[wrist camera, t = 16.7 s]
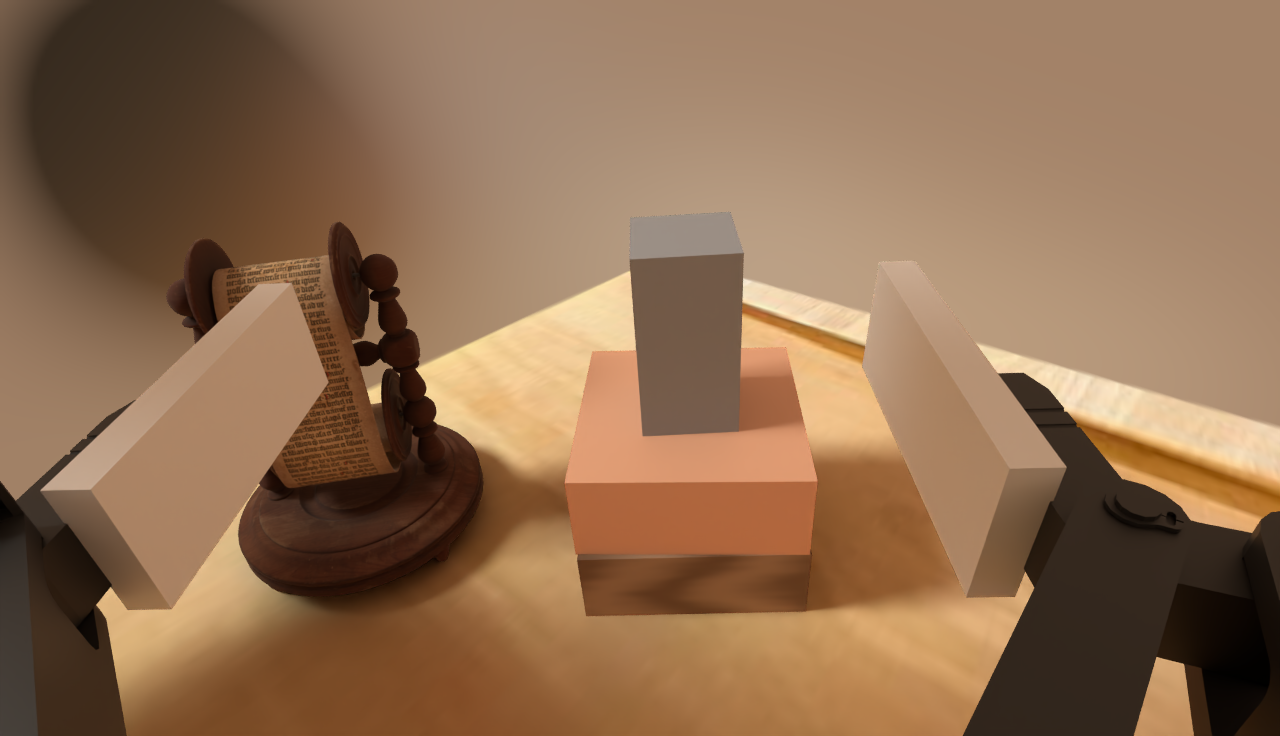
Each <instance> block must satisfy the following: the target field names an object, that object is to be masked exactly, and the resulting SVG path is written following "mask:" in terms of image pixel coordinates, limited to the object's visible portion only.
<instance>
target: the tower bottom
mask: <svg viewBox="0 0 1280 736" xmlns="http://www.w3.org/2000/svg"><path fill="white" fill-rule="evenodd" d="M811 557H812V553H811V549H810V555H600V554H578V558H577V562H578V568H579V574H580V581H581V587H582V593H583V599H584V605H585V611H586V616H610V615H658V614H706V613H755V612H803V611H806V603H807V593H808V584H809V575H810V566H811Z"/></svg>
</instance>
